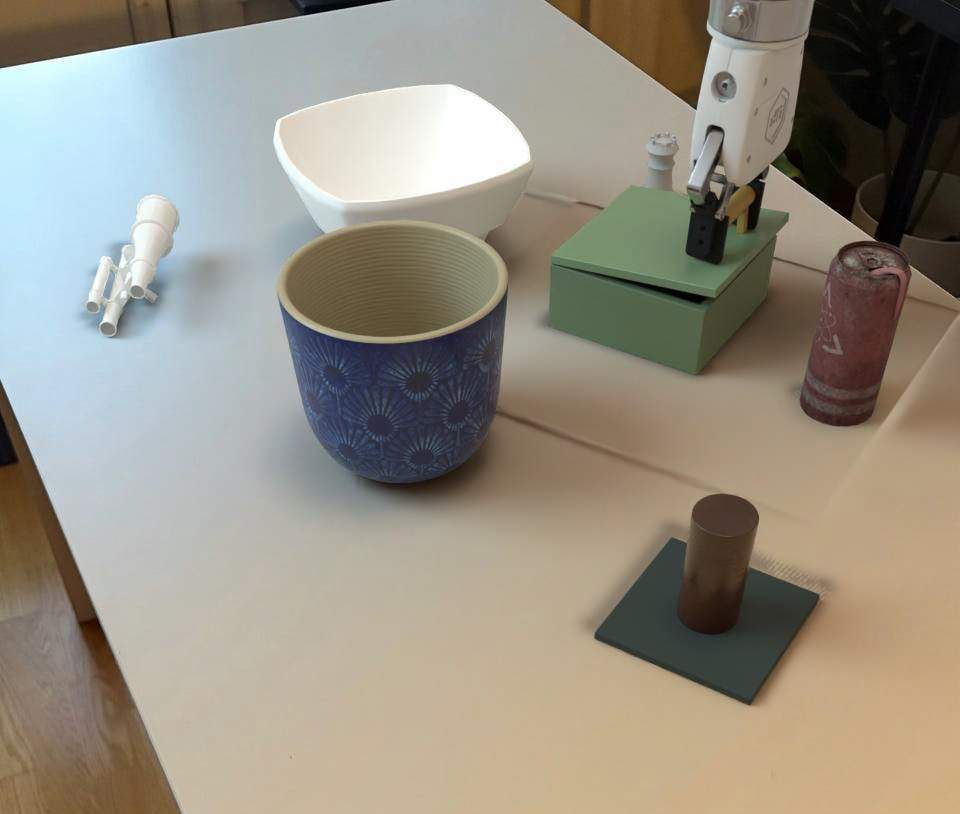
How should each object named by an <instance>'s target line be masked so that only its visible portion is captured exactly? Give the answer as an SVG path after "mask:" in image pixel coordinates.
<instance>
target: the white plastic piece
mask: <svg viewBox="0 0 960 814" xmlns="http://www.w3.org/2000/svg"><path fill="white" fill-rule="evenodd" d="M135 217H136V220H135V222H134V223H133V224H132V226H131V228H130V232H129V233H130V234H129V239H130V242H131V243H130V244H125V245H123V246H122V248H121V251H120V253H121V256H120V260H119V264H118V266H117V265H115V263H114V261H113V258H111V257H109V256H106V255H104V256H101V257H100V258H99V260H98V268H97V271H96V274H95V277H94V281H93V284H92V287H91V289H90V290H89V292H88V299H87V301H86V303H85V305H84V307H85V310H86V311H87V312H88V313H89V314H93V315H95V314H98V313H99V312H100V311H101V305H102V306H104V314H103V316H102V320H101V322H100V323H99V326H98V330H99V331H100V333H101V334H102V335H103V336H105V337H109V338H111V337H114V336H115V335H116V334H117V331H118V329H117V327H118V323H119V320H120V316H122V315H123V313H124V306H125V305H126V303H128V301H129V300H130V298H132V299H137V300H142V299H143V298H145V299H146V300H147V301H149V302H150V303H151V304H154V303H155V302H156V301H157V299H158V295H157V294H156V293H155V292H153V291H152V290H151V289H149V288H148V285H150V283H152V282H154V281H155V279H156V277H157V273H158V271H157V268H158V265H159V262H160V260H161V259H163V258H165V257H167V256H168V255H169V254H170V253H171V252H172V250H173V247H174V242H175V241H174V233H176V231H177V230H178V228H179V226H180V220H181V217H180V213H179V210H178V208H177V206H176V204H174V203H173V201H172V200H170V199H169V198H167V197H165V196H163V195H159V194H148V195H146V196H143V198H142V199H140V200H139V201H138V203H137V205H136V210H135ZM111 272H112V273H113V277H114V280H113V283H112V286H111V290H110V293H109V297H108V298H107V297H105V296H104V293H105V290H106V288H107V287H106V286H107V283H108V279H109V277H110V273H111Z"/></svg>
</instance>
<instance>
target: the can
mask: <svg viewBox="0 0 960 814" xmlns="http://www.w3.org/2000/svg"><path fill="white" fill-rule="evenodd" d="M910 265H911V260H910V257H909V256H908V255H907V253H906V252H905V251H904V250H902V249H901V248H899V247H898V246H896V245H892V244H889V243H887V242H883V241H878V240H858V241H852V242H850V243H847V244H844V245H843V246H841V248H839V249H838V251H837V253H836V255H834V257H833V258H832V259H831V261H830V264H829V267H828V271H827V275H826V281H825V285H824V289H823V293H822V298H821V302H820V307H819V311H818V316H817V321H816V325H815V331H814V334H813V338H812V343H811V346H810V347H811V348H810V353H809V356H808V360H807V365H806V370H805V374H804V379H803V384H802V388H801V391H800V392H801V393H800V397H799V403H800V404H799V405H800V406H799V407H800V408H801V409H802V411H803V412H804V414H806V415H807V416H808V417H809V418H811V419H812V420H815V421H816V422H818V423H821V424H823V425H828V426H831V427H845V428H846V427H853V426H858V425H860V424H863V423H866V422H867V421H868V420H869V419H870V418H871V417H872V416H873V413H874V411H875V407H876V404H877V400H878V396H879V393H880V390H881V386H882V383H883V378H884V375H885V371H886V369H887V365H888V361H889V357H890V353H891V350H892V348H893V347H892V346H893V343H894V339H895V336H896V333H897V328H898V325H899V321H900V319H901V314H902V311H903V308H904V304H905V300H906V297H907V294H908V290H909V287H910V282H911V279H912V275H913V274H912V270H911V266H910Z"/></svg>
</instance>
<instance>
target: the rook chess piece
mask: <svg viewBox="0 0 960 814" xmlns="http://www.w3.org/2000/svg"><path fill="white" fill-rule="evenodd" d="M661 135H662V133H661V131H658V132H655V133H654V134H651V135H650V139H649V141H648V142H647V144H646V145H645V151H646V152H647V153H648V155H649V157H648V159H647V161H646V165H647V173H646V178H645V183H644V185H643V187H645V188H650V189H656V190H662V191H667V192H673V193H676V192H675V191H674V189H673V171H674V169H673V168H674V167H675V165H676V161H675V160H674V157H675V155H676V154H677V153H678V152H679V150H680V146H679V144H678V143H677V136H676V135H675V134H671V132H667V131H664V135H663V136H661ZM670 135H671V136H670Z"/></svg>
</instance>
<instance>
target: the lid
mask: <svg viewBox="0 0 960 814" xmlns="http://www.w3.org/2000/svg"><path fill="white" fill-rule="evenodd" d="M754 199H755V192H754V190H753V189H752V188H751V187H750V186H747V185H745V186H743V187H740V188H739V189H738V190H737V191H736V192H735V193H734V194H733V195H732V196H731V198H730V202H729V205H728V208H727V211H726V215H727V216H730V219H729V225H728V231H727V236H726V242H725V248H724V254H723V259H722V261H721V262H720V263H719V264H713V263H710V262H707V261H703V260H700V259H697V258H694V257H691V256H688V255H687V254H686V252H685V250H686V243H687V236H688V229H689V222H690V216H691V211H690V204H691V202H690V197H689V195H688V194H684V193H679V192H675V193H673V192H667V191H662V190H656V189H650V188H645V187H644V186H639V185H632V184H631V185H630V186H628V187H627V188H626V189H625V190H624V191H623V192H621V193H620V194H619V195H618V196H617V197H616V198H615V199H614V200H612V201H611V202H610V203H609V204H608V205H606V206H605V207H604V208H603V209H602V210H600V211H599V212H598V213H597V214H596V215H595V216H594V217H593V218H592V219H591V220H589V221H588V222H587V223H585V224H584V226H582V227H581V228H580V229H579V230H578V231H577V232H576V233H575V234H573V235H572V236H571V237H569V238H568V239H567V240H566V241H565V242H564V243H563V244H561V245H560V247H558V248H557V249H556V250H555V251H553V253H551V254H550V264H557V265H561V266H566V267H571V268H576V269H580V270H585V271H590V272H594V273H599V274H604V275H609V276H613V277H618V278H623V279H627V280H632V281H637V282H642V283H646V284H651V285H656V286H661V287H665V288H670V289H675V290H679V291H684V292H689V293H694V294H698V295H703V296H708V297H713V298H716V297H717V296H718V295H719V294H720V293H721V292H722V291H723V290H724V289H725V288H726V287H727V286H728V284H729V283H730V282H731V281H732V280H733V279H734V278H735V277H736V276H737V275H738V274H739V273H740V272H741V271H742V270H743V269H744V268H745V267H746V265H747V264H748V263H749V262H750V261H751V260H752V259H753V258H754V257H755V256H756V255H757V254H758V253H759V252H760V251H761V250H762V249H763V247H764V246H765V245H766V244H767V243H768V242H769V241H770V240H771V239H772V238H773V237H774V236H775V235H777V234H778V233H779V232H780V231H781V230H782V229H783V228H784V227H785V225H786V224H788V222H789V220H790V219H789V218H790V213H789V212H787V211H782V210H776V209H770V208H764V207H761V209H760V214H759V219H758V224H757V226H756V227H755V228H754V229H752V230H751V229H747V220H748V207H749V205H750V204H751V203H752V202H753V201H754ZM736 218H737V225H734V224H731V223H732V222H733V221H734V220H735V219H736Z"/></svg>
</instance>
